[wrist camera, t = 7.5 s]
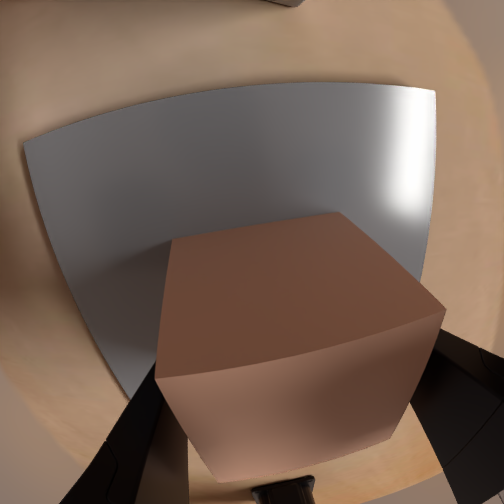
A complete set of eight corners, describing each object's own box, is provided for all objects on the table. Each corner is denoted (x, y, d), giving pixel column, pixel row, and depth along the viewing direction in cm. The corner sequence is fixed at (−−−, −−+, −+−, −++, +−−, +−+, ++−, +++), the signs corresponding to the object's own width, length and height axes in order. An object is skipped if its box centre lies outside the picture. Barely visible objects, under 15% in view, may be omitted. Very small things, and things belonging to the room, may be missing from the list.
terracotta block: (334, 333, 12) (389, 438, 8) (205, 360, 12) (218, 483, 7) (339, 212, 10) (446, 309, 5) (172, 239, 9) (154, 378, 4)
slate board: (387, 353, 16) (396, 367, 15) (146, 403, 14) (145, 420, 13) (415, 89, 9) (435, 90, 8) (39, 138, 8) (23, 142, 7)
